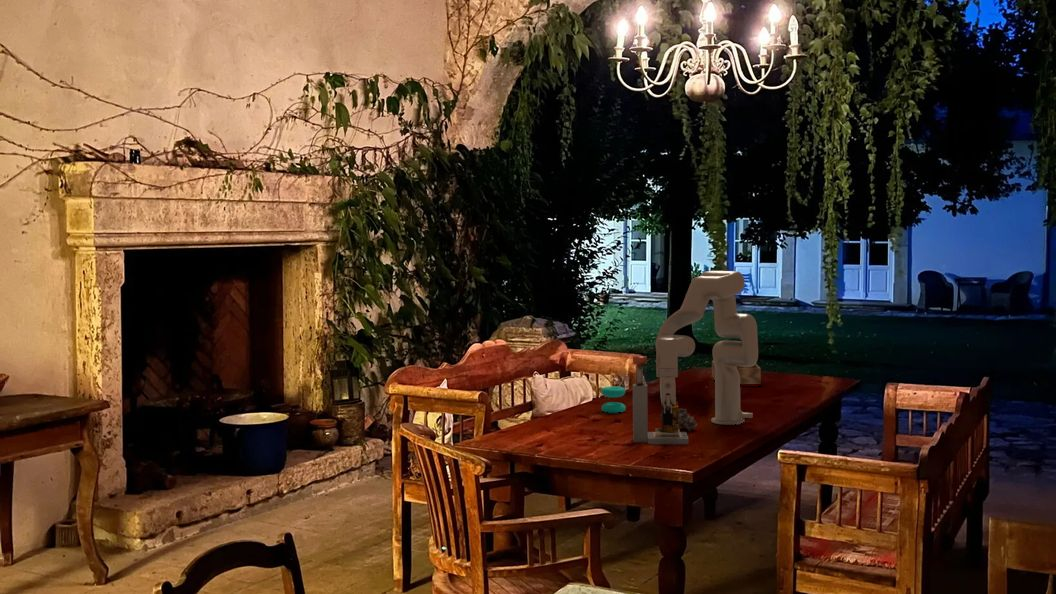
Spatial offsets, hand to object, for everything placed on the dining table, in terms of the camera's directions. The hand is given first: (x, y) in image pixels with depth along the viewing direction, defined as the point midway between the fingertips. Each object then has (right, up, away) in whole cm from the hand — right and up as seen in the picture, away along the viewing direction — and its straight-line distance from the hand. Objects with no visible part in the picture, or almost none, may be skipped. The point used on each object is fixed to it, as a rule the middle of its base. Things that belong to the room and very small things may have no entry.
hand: (667, 422), depth 371 cm
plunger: (-10, +10, 0) cm, 14 cm away
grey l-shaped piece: (-2, -7, +1) cm, 7 cm away
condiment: (0, -3, 0) cm, 3 cm away
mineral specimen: (+8, -5, +21) cm, 23 cm away
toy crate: (+51, +3, +137) cm, 147 cm away
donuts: (-14, -3, +62) cm, 63 cm away
